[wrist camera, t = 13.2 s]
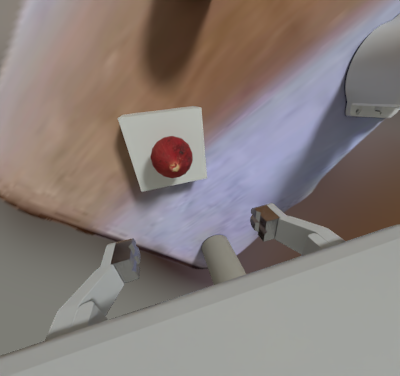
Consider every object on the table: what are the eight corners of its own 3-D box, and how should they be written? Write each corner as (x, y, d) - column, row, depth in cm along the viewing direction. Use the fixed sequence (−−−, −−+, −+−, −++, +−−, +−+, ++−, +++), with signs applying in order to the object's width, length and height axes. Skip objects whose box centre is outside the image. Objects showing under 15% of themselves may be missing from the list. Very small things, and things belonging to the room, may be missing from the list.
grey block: (193, 106, 29) (201, 107, 25) (200, 168, 35) (206, 178, 31) (122, 114, 27) (117, 118, 22) (142, 179, 33) (141, 191, 29)
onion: (165, 123, 24) (171, 133, 18) (194, 147, 27) (208, 163, 20) (143, 153, 26) (141, 173, 19) (172, 173, 28) (180, 197, 22)
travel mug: (195, 247, 46) (218, 321, 31) (216, 229, 45) (250, 297, 30) (213, 257, 50) (240, 326, 35) (232, 241, 49) (269, 305, 34)
